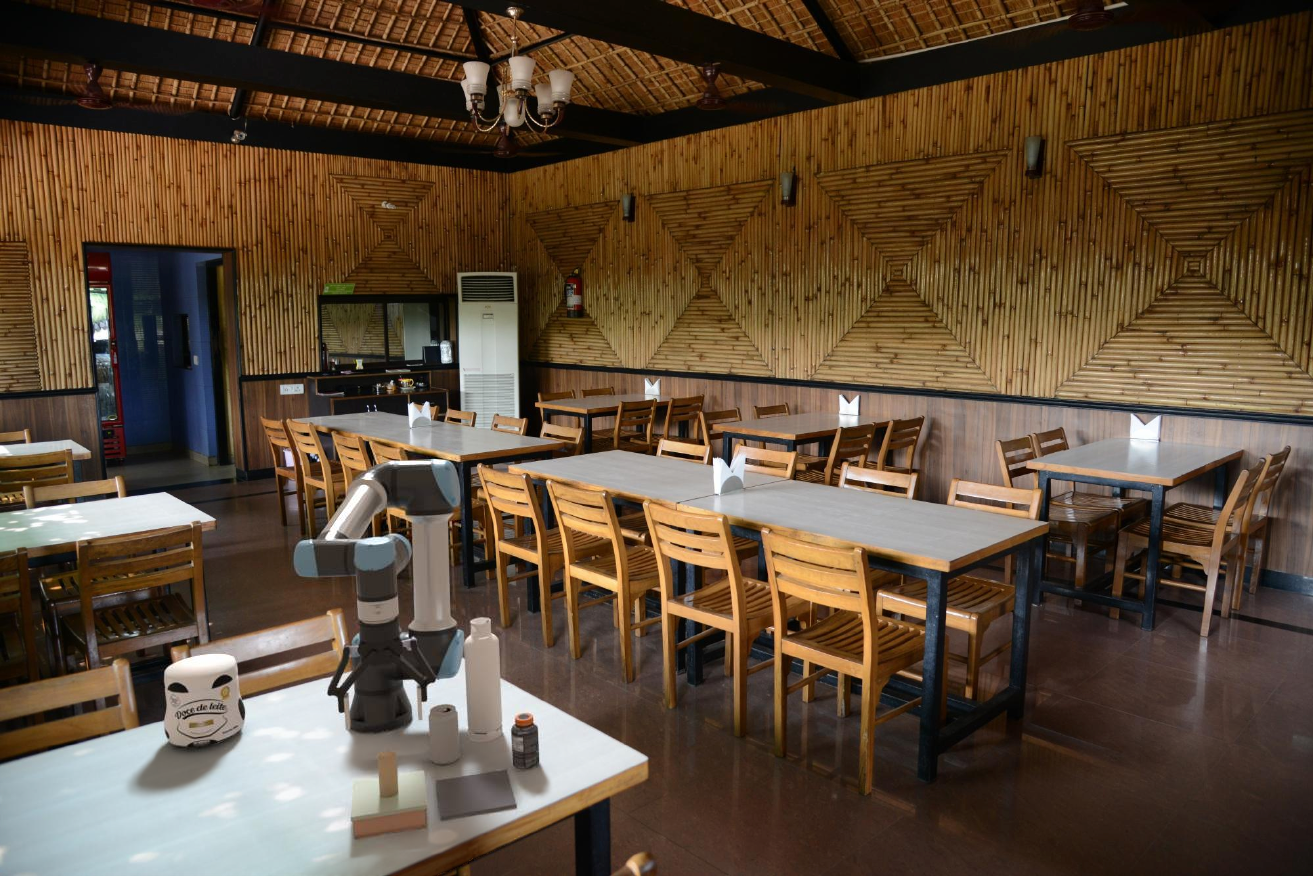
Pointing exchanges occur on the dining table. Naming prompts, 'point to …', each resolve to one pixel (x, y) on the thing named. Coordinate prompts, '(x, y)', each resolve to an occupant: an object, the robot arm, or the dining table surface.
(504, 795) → the mat
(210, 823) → the dining table surface
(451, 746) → the beverage can
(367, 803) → the lid
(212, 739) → the doce de leite tub
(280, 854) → the dining table surface
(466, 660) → the bottle
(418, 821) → the dish
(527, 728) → the pill bottle
